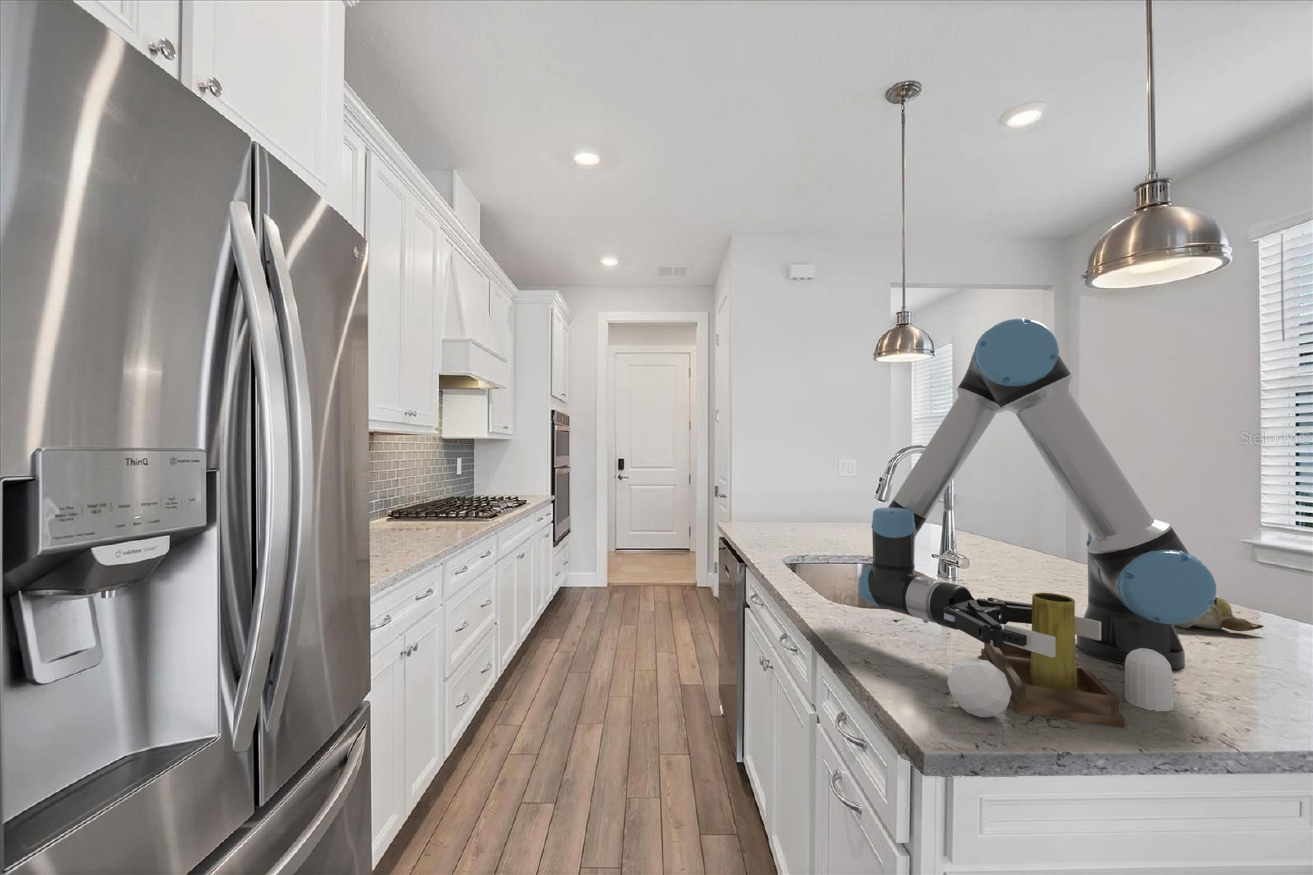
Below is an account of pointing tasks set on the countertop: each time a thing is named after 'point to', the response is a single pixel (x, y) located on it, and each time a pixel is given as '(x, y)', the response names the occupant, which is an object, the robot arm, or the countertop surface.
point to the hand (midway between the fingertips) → (1078, 639)
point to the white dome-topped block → (1148, 680)
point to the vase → (1057, 621)
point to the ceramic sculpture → (1220, 618)
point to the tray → (1054, 690)
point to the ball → (979, 687)
